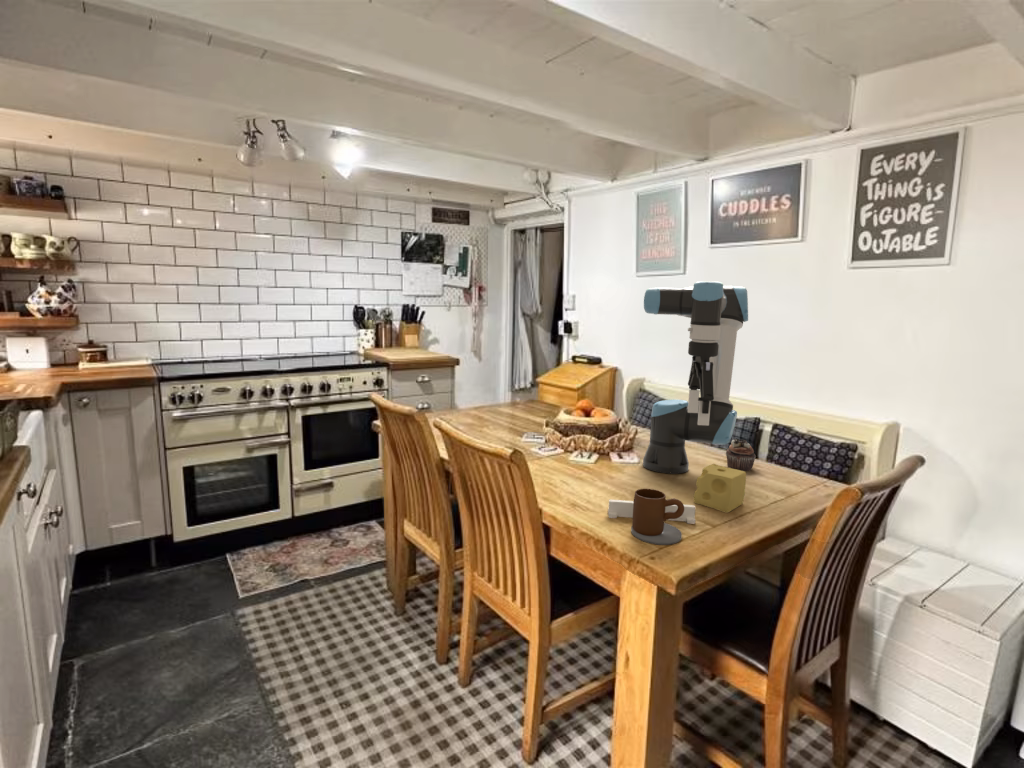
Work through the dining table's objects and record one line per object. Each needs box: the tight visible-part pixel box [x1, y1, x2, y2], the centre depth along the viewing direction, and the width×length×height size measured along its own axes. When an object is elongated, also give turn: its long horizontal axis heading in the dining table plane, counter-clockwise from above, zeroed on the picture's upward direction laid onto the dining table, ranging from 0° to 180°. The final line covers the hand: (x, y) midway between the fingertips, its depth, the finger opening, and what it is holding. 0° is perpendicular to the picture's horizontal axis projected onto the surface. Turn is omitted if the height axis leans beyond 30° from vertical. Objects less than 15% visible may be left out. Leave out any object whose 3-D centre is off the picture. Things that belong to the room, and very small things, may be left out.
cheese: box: [693, 463, 747, 514], centre depth 154 cm, size 10×11×10 cm
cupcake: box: [725, 437, 757, 472], centre depth 189 cm, size 10×10×10 cm
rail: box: [607, 499, 696, 525], centre depth 143 cm, size 4×22×4 cm, turn 83°
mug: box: [631, 488, 685, 536], centre depth 132 cm, size 12×8×9 cm, turn 65°
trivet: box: [630, 522, 683, 546], centre depth 134 cm, size 12×12×1 cm
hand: (697, 418), depth 148 cm, fingers open, 13 cm apart
